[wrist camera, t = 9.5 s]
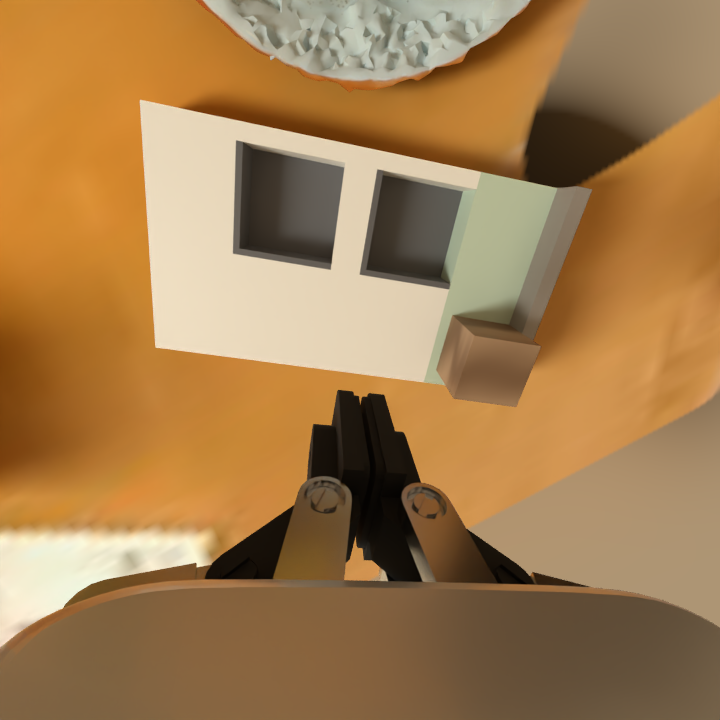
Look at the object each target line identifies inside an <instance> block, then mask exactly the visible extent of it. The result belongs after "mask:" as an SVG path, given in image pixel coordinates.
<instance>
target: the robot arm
mask: <svg viewBox="0 0 720 720" xmlns="http://www.w3.org/2000/svg"><path fill="white" fill-rule="evenodd" d="M355 536H356V544H357V547H358V548H363V556H364V560H372V561H374V562H375V563H376V564H377V565H378V566H379V567H380V569H379V577H380V581H347V580H344V574H345V564H346V562H347V561H348V560H349V559H350V556H351V552H352V548H353V544H354V540H355ZM0 720H720V627H718V626H717V625H715V624H714V623H712V622H710V621H708V620H707V619H705V618H703V617H701V616H699V615H697V614H695V613H693V612H691V611H689V610H687V609H684V608H681V607H679V606H676V605H674V604H671V603H669V602H666V601H664V600H660V599H656V598H653V597H649V596H645V595H642V594H637V593H632V592H626V591H621V590H613V589H603V588H593V587H589V586H585V585H581V584H577V583H573V582H570V581H565V580H562V579H558V578H554V577H550V576H546V575H542V574H539V573H534V572H532V574H531V576H529V575H528V574H527V573H526V571H524V570H523V569H522V568H521V567H520V566H519V565H517V564H516V563H515V562H513V561H512V560H510V559H509V558H508V557H506V556H504V555H503V554H502V553H500V552H499V551H498V550H496V549H495V548H493V547H492V546H490V545H489V544H488V543H486V542H485V541H483V540H482V539H480V538H479V537H478V536H476V535H475V534H473V533H472V532H470V531H469V530H468V529H466V527H465V526H464V524H463V522H462V521H461V519H460V517H459V515H458V514H457V512H456V510H455V508H454V507H453V505H452V503H451V502H450V500H449V499H448V497H447V496H446V495H445V494H444V493H443V492H442V491H441V490H439V489H438V488H436V487H434V486H432V485H429V484H426V483H421V481H420V478H419V475H418V472H417V469H416V466H415V463H414V460H413V457H412V454H411V451H410V448H409V445H408V442H407V439H406V436H405V434H404V433H403V432H396V431H395V430H394V427H393V423H392V420H391V416H390V413H389V410H388V406H387V403H386V399H385V396H384V395H381V394H371V393H369V394H368V396H367V397H362V400H361V405H360V401H359V396H354V393H353V392H352V391H343V390H338V391H337V396H336V402H335V408H334V414H333V420H332V426H330V425H319V424H313V429H312V436H311V443H310V451H309V461H308V474H307V481H306V482H305V483H304V484H303V485H302V486H301V488H300V490H299V492H298V495H297V498H296V502H295V505H294V506H292V507H291V508H289V509H288V510H286V511H285V512H283V513H282V514H281V515H279V516H278V517H276V518H275V519H273V520H272V521H270V522H269V523H267V524H266V525H265V526H263V527H262V528H260V529H259V530H257V531H256V532H254V533H253V534H251V535H250V536H249V537H247V538H246V539H244V540H243V541H241V542H240V543H238V544H237V545H235V546H234V547H233V548H231V549H230V550H228V551H227V552H225V553H224V554H222V555H221V556H220V557H219V558H218V559H216V560H215V561H214V562H213V563H212V565H208V566H203V567H198V568H197V567H196V563H193V564H188V565H183V566H177V567H172V568H166V569H161V570H155V571H150V572H145V573H139V574H134V575H128V576H123V577H117V578H112V579H107V580H103V581H100V582H97V583H94V584H91V585H89V586H88V587H86V588H84V589H83V590H81V591H79V592H78V593H77V594H76V595H75V596H73V597H72V598H71V599H70V600H69V601H68V602H67V603H66V604H65V606H64V608H63V609H60V610H58V611H56V612H54V613H52V614H50V615H48V616H46V617H44V618H42V619H40V620H38V621H37V622H35V623H33V624H31V625H30V626H28V627H27V628H25V629H24V630H22V631H21V632H19V633H18V634H16V635H15V636H14V637H13V638H11V639H10V640H9V641H8V642H6V643H5V644H4V645H3V646H2V647H0Z"/></svg>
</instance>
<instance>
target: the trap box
mask: <svg viewBox="0 0 720 720" xmlns="http://www.w3.org/2000/svg"><path fill="white" fill-rule="evenodd" d="M140 112H141V127H142V143H143V159H144V174H145V190H146V205H147V221H148V237H149V252H150V268H151V284H152V299H153V315H154V331H155V346H156V348H164V349H172V350H179V351H187V352H195V353H202V354H210V355H218V356H226V357H233V358H241V359H249V360H256V361H264V362H272V363H279V364H287V365H295V366H302V367H310V368H318V369H325V370H333V371H341V372H349V373H356V374H364V375H372V376H379V377H387V378H395V379H402V380H410V381H418V382H425V383H433V384H441V385H445V384H444V382H443V380H442V379H441V377H440V376H439V374H438V372H437V371H436V368H437V365H438V362H439V358H440V355H441V352H442V348H443V345H444V341H445V338H446V335H447V331H448V328H449V324H450V321H451V318H452V315H454V316H460V317H466V318H472V319H478V320H484V321H490V322H496V323H502V324H508V325H510V326H512V327H513V328H515V329H516V330H518V331H519V332H521V333H522V334H524V335H525V336H527V337H528V338H530V339H531V340H534V337H535V335H536V332H537V329H538V327H539V324H540V322H541V319H542V317H543V314H544V312H545V309H546V306H547V304H548V301H549V299H550V296H551V294H552V291H553V289H554V286H555V284H556V281H557V278H558V276H559V273H560V271H561V268H562V266H563V263H564V261H565V258H566V255H567V253H568V250H569V248H570V245H571V243H572V240H573V238H574V235H575V232H576V230H577V227H578V225H579V222H580V220H581V217H582V215H583V212H584V210H585V207H586V204H587V202H588V199H589V197H590V194H591V192H592V189H588V188H583V187H579V186H574V187H564V188H554V187H550V186H544V185H540V184H535V183H531V182H526V181H521V180H517V179H512V178H507V177H502V176H498V175H493V174H488V173H484V172H479V171H474V170H469V169H465V168H460V167H455V166H451V165H446V164H441V163H436V162H432V161H427V160H422V159H417V158H413V157H408V156H403V155H399V154H394V153H389V152H384V151H380V150H375V149H370V148H366V147H361V146H356V145H351V144H347V143H342V142H337V141H332V140H328V139H323V138H318V137H314V136H309V135H304V134H299V133H295V132H290V131H285V130H280V129H276V128H271V127H266V126H262V125H257V124H252V123H247V122H243V121H238V120H233V119H229V118H224V117H219V116H214V115H210V114H205V113H200V112H195V111H191V110H186V109H181V108H177V107H172V106H167V105H162V104H158V103H153V102H148V101H144V100H140Z"/></svg>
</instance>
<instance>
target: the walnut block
mask: <svg viewBox="0 0 720 720" xmlns="http://www.w3.org/2000/svg"><path fill="white" fill-rule="evenodd" d="M540 348H541V346H540V345H539V344H537V343H536V342H534V341H533V340H531V339H530V338H528V337H527V336H525V335H524V334H522V333H521V332H519V331H518V330H516V329H515V328H513V327H512V326H510V325H508V324H502V323H496V322H490V321H484V320H478V319H472V318H466V317H460V316H454V315H452V318H451V321H450V324H449V328H448V331H447V335H446V338H445V341H444V345H443V348H442V352H441V355H440V358H439V362H438V365H437V368H436V371H437V372H438V374H439V376H440V377H441V379H442V380H443V382H444V384H445V385H446V387H447V389H448V390H449V392H450V393H451V395H452V397H453V398H454V399H460V400H467V401H475V402H482V403H490V404H497V405H504V406H512V407H516V406H517V404H518V401H519V399H520V397H521V394H522V392H523V389H524V387H525V385H526V382H527V380H528V377H529V375H530V373H531V370H532V368H533V365H534V363H535V360H536V358H537V356H538V353H539V351H540Z"/></svg>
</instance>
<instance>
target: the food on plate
mask: <svg viewBox="0 0 720 720" xmlns="http://www.w3.org/2000/svg"><path fill="white" fill-rule="evenodd" d="M196 1H198V2H199V3H200V4H201V5H202V6H203V7H204V8H205V9H206V10H207V11H209V12H210V13H212V14H213V15H215V16H216V17H217V18H218V19H219V20H220V21H221V22H222V23H223V24H224V25H225V26H226V27H227V28H228V29H229V30H230V31H231V32H232V33H233V34H234V35H235V36H237V37H239V38H241V39H243V40H245V41H246V42H247V43H248V44H249V45H250V46H251V47H252V48H253V49H254V50H256V51H257V52H259V53H261V54H264V55H266V56H270V60H272V59H273V58H275V57H276V58H277V59H278V60H280V61H281V62H282V63H284V64H285V65H286V66H289V67H292V68H295V69H297V70H298V71H299V72H300V73H301V74H302V75H303V76H305V77H307V78H310V79H313V80H317V81H323V80H328V81H332V82H335V83H338V84H340V85H341V86H342V87H344V88H345V89H346V90H347V91H349V92H351V91H352V90H353V89H361V90H374V89H379V88H384V87H389V86H392V85H394V84H396V83H398V82H401V81H404V80H407V79H410V78H411V79H414V80H417V81H419V80H420V79H422V78H423V77H425V76H426V75H428V74H429V73H430V72H431V71H432V70H433V69H435V68H436V67H443V66H449V65H453V64H457V63H461V62H462V61H463V59H464V58H465V56H466V54H467V52H468V51H469V49H470V48H471V47H473V46H475V45H477V44H479V43H481V42H483V41H485V40H487V39H489V38H491V37H493V36H495V35H497V34H498V33H499V31H500V30H501V29H502V28H503V27H504V25H505V24H506V23H507V22H508V21H509V20H510V19H511V18H513V17H515V16H517V15H519V14H520V13H521V12H522V11H523V10H524V9H525V8H526V7H527V6H528V4H529V2H530V1H531V0H196Z"/></svg>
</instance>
